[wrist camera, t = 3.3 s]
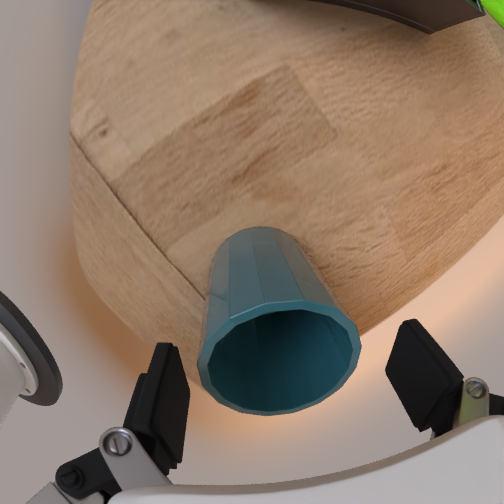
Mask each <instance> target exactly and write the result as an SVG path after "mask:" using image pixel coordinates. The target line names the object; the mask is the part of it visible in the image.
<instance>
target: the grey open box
mask: <svg viewBox="0 0 504 504" xmlns="http://www.w3.org/2000/svg"><path fill="white" fill-rule="evenodd" d="M309 1H316V2H323V3H328V4H334V5H339V6H344V7H348V8H352V9H357V10H361V11H364V12H368V13H372V14H375V15H378V16H382V17H385V18H388V19H391V20H394V21H397V22H400V23H402V24H405V25H408V26H410V27H413V28H415V29H418V30H420V31H423V32H425V33H427V34H433V33H435V32H438V31H440V30H443V29H446V28H448V27H451V26H454V25H457V24H459V23H462V22H465V21H468V20H472V19H475V18H478V17H481V16H485V15H486V14H485V11H484V9H483V6H482V3H481V1H480V0H309Z"/></svg>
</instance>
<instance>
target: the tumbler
mask: <svg viewBox="0 0 504 504" xmlns="http://www.w3.org/2000/svg"><path fill="white" fill-rule="evenodd" d="M361 346H362V345H361V342H360V338H359V334H358V330H357V327H356V324H355V323H354V321H353V320H352V318H351V317H350V315H349V314H348V312H347V311H346V309H345V308H344V306H343V305H342V303H341V302H340V300H339V299H338V297H337V296H336V294H335V293H334V291H333V290H332V288H331V287H330V285H329V284H328V283H327V281H326V280H325V278H324V277H323V275H322V274H321V272H320V271H319V270H318V268H317V267H316V265H315V264H314V262H313V261H312V260H311V258H310V257H309V255H308V254H307V252H306V251H305V250H304V248H303V247H302V246H301V245H300V244H299V243H298V242H297V241H296V240H295V239H294V238H293V237H292V236H290V235H289V234H287V233H285V232H283V231H281V230H279V229H275V228H271V227H252V228H248V229H245V230H242V231H240V232H238V233H236V234H234V235H232V236H231V237H230V238H228V239H227V240H226V241H225V242H224V243H223V244H222V245H221V246H220V248H219V249H218V251H217V252H216V254H215V256H214V259H213V262H212V266H211V269H210V273H209V280H208V286H207V293H206V300H205V307H204V314H203V321H202V328H201V336H200V344H199V352H198V360H197V367H198V371H199V375H200V379H201V383H202V386H203V387H204V388H205V389H206V390H207V391H208V393H209V394H210V395H211V396H212V397H213V398H214V399H215V400H216V401H217V402H218V403H220V404H222V405H224V406H227V407H229V408H231V409H233V410H236V411H238V412H241V413H246V414H253V415H261V416H272V415H281V414H289V413H293V412H294V413H295V412H297V411H300V410H303V409H306V408H308V407H311V406H314V405H316V404H318V403H320V402H322V401H323V400H325V399H326V398H328V397H329V396H331V395H332V394H333V393H335V392H336V391H337V390H339V389H340V388H341V387H342V386H343V385H344V383H345V382H346V381H347V380H348V378H349V377H350V376H351V374H352V373H353V372H354V370H355V368H356V366H357V363H358V359H359V355H360V351H361Z"/></svg>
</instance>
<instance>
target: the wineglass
mask: <svg viewBox="0 0 504 504" xmlns="http://www.w3.org/2000/svg"><path fill="white" fill-rule="evenodd" d="M480 1H481V3H482V5H483V6H484V8H485V9H486V10H487V11H488V12H489V13H490V14H491V15H492V17H493V18H494V19H495V20H496V21H497V22H498V23H499V24H500V25H501V26H502V27H503V28H504V0H480Z"/></svg>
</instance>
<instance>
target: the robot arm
mask: <svg viewBox="0 0 504 504" xmlns="http://www.w3.org/2000/svg"><path fill="white" fill-rule="evenodd" d="M385 371H386V375H387V377H388V379H389V380H390V382H391V384H392V386H393V388H394V390H395V391H396V393H397V395H398V397H399V399H400V400H401V402H402V404H403V406H404V408H405V410H406V412H407V414H408V415H409V417H410V419H411V421H412V423H413V425H414V426H415V427H416V428H418V429H419V431H420V432H422V431H424V430H427V429H429V428H430V427H431V428H432V434H431V438H430V441H428V442H426V443H424V444H421V445H419V446H417V447H414V448H412V449H409V450H407V451H404V452H402V453H399V454H397V455H394V456H391V457H388V458H385V459H383V460H379V461H376V462H373V463H370V464H367V465H363V466H360V467H356V468H352V469H349V470H345V471H341V472H336V473H332V474H327V475H322V476H317V477H312V478H306V479H300V480H293V481H285V482H277V483H266V484H251V485H179V484H178V485H174V484H173V483H172V482H171V481H170V480H169V478H168V477H167V475H168V474H169V469H177V463H181V462H182V456H183V446H184V439H185V431H186V422H187V415H188V408H189V400H190V389H189V386H188V382H187V379H186V375H185V372H184V369H183V365H182V361H181V358H180V354H179V350H178V347H177V346H173V344H172V343H157V345H156V348H155V351H154V354H153V357H152V360H151V363H150V366H149V369H148V372H147V373H141V374H140V376H139V378H138V381H137V383H136V386H135V390H134V392H133V395H132V398H131V401H130V405H129V408H128V411H127V414H126V417H125V420H124V424H123V427H114V428H110V429H108V430H107V431H105V432H104V433H103V434H102V435H101V437H100V439H99V447H98V448H96V449H94V450H92V451H91V452H88V453H86V454H84V455H82V456H80V457H78V458H76V459H74V460H72V461H69V462H67V463H65V464H63V465H61V466H60V467H59V468H58V470H57V472H56V477H55V478H56V479H55V480H56V481H55V482H54V483H52V482H49V483H48V484H47V485H46V486H45V487H43V488H42V489H41V490H40V491H39V492H38V493H37V494H36V495H34V496H33V497H32V498H31V499H30V500H29V501H28V502H27V503H26V504H504V397H502V396H498V395H494V394H490V393H489V388H488V386H487V384H486V383H485V382H484V381H483V380H481V379H480V378H476V377H472V378H468V379H467V380H466V381H465V382H464V381H463V378H464V376H463V375H462V373H461V372H460V371H459V370H458V368H457V367H456V366H455V364H454V363H453V362H452V361H451V359H450V358H449V357H448V356H447V354H446V353H445V352H444V351H443V349H442V348H441V347H440V346H439V345H438V343H437V342H436V341H435V340H434V339H433V337H432V336H431V335H430V334H429V333H428V332H427V330H426V329H425V328H424V327H423V326H422V325H421V324H420V322H419V321H418V320H417V319H410V320H406V321H403V323H402V325H400V327H399V330H398V333H397V336H396V339H395V342H394V345H393V348H392V351H391V354H390V357H389V360H388V362H387V366H386V368H385ZM38 386H39V385H38V377H37V374H36V371H35V369H34V367H33V365H32V363H31V361H30V359H29V358H28V356H27V355H26V353H25V351H24V350H23V349H22V347H21V346H20V345H19V343H18V342H17V341H16V339H15V338H14V337H13V336H12V334H11V333H10V332H9V331H8V330H7V329H6V328H5V327H4V326H3V325H2V324H1V323H0V429H1V426H2V424H3V422H4V421H5V419H6V417H7V415H8V413H9V411H10V410H11V408H12V406H13V404H14V403H15V401H16V399H17V397H18V396H19V394H22V395H27V396H31V395H33V394H34V393H35V392H36V390H37V388H38Z"/></svg>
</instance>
